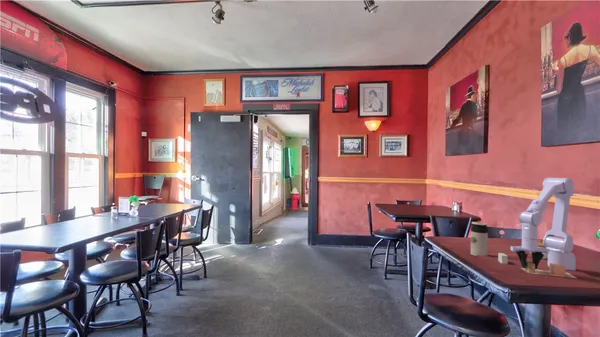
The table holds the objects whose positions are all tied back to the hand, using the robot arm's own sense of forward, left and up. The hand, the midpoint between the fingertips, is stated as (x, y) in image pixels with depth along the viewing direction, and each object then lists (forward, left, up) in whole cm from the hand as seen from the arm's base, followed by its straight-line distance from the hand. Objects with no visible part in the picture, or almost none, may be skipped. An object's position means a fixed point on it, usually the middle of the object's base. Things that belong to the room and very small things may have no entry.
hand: (529, 267), depth 131 cm
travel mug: (+14, -24, -3) cm, 28 cm away
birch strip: (-7, 0, -2) cm, 7 cm away
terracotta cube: (-10, 0, -1) cm, 11 cm away
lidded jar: (-18, -34, -3) cm, 39 cm away
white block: (0, -10, -2) cm, 11 cm away
